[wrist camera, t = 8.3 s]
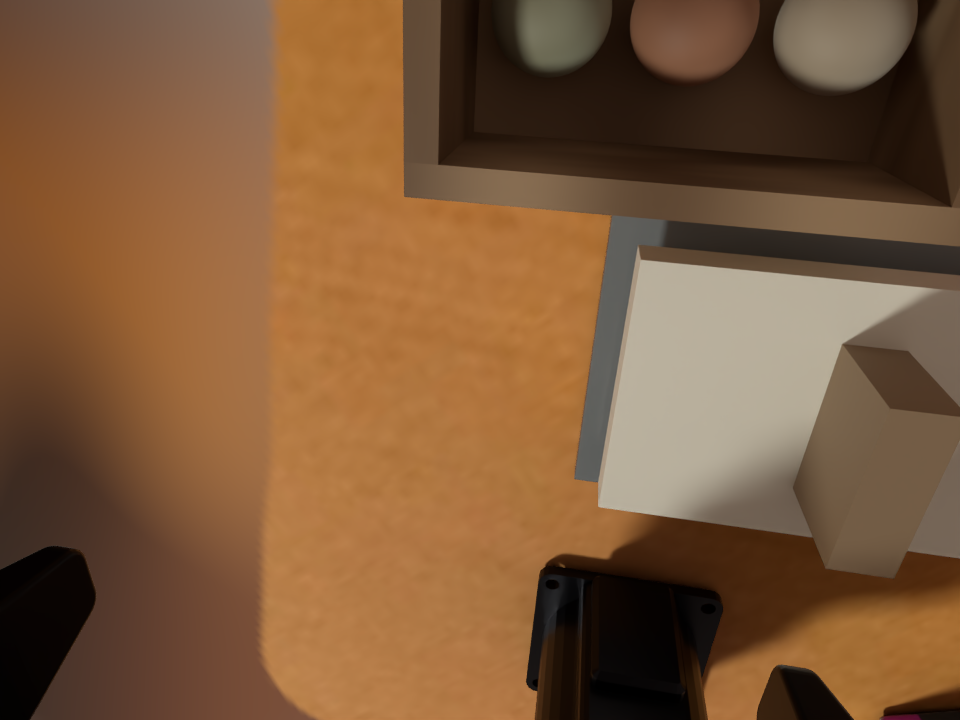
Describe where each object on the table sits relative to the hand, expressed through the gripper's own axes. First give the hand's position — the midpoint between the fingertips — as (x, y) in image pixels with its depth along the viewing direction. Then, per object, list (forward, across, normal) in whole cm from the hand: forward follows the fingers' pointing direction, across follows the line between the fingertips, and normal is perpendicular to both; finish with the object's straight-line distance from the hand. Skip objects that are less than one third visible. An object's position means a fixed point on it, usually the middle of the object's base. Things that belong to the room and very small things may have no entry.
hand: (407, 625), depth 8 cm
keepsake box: (+12, -4, -7) cm, 15 cm away
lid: (+11, -9, +2) cm, 14 cm away
